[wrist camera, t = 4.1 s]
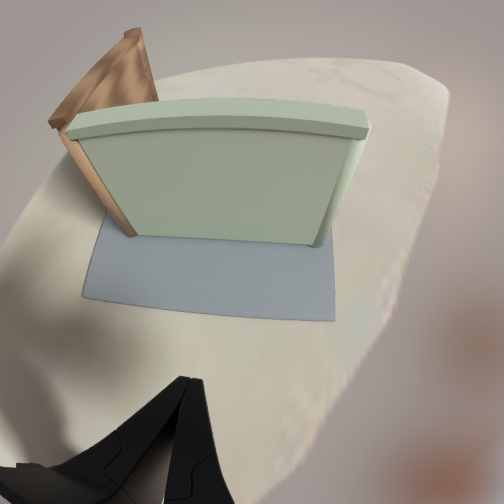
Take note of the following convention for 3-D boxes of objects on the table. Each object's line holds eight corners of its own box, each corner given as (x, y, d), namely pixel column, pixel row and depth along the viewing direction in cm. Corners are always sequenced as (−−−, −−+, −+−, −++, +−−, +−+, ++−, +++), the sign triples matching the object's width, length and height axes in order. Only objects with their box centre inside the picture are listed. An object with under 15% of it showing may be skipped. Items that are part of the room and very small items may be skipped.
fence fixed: (128, 222, 26) (62, 112, 13) (113, 221, 26) (44, 117, 13) (166, 120, 33) (143, 26, 20) (154, 121, 33) (128, 29, 20)
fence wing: (323, 249, 24) (376, 129, 12) (124, 237, 25) (52, 133, 13) (323, 233, 25) (369, 111, 13) (128, 223, 26) (63, 117, 14)
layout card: (334, 321, 22) (335, 320, 22) (84, 297, 23) (81, 296, 23) (319, 129, 32) (320, 127, 32) (144, 127, 33) (143, 124, 32)
